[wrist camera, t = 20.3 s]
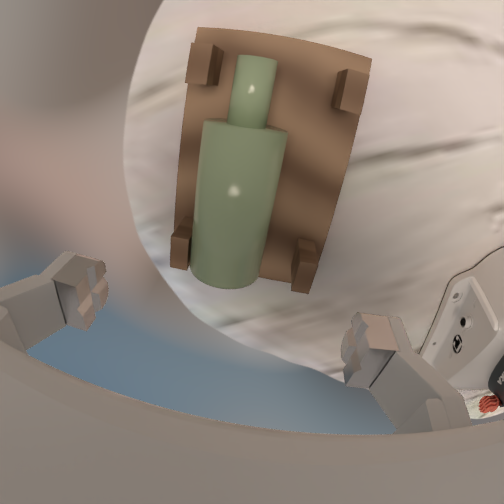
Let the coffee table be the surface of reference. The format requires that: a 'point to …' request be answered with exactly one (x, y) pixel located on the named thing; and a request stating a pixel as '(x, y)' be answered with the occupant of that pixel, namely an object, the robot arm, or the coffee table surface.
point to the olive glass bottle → (237, 181)
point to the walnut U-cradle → (297, 146)
